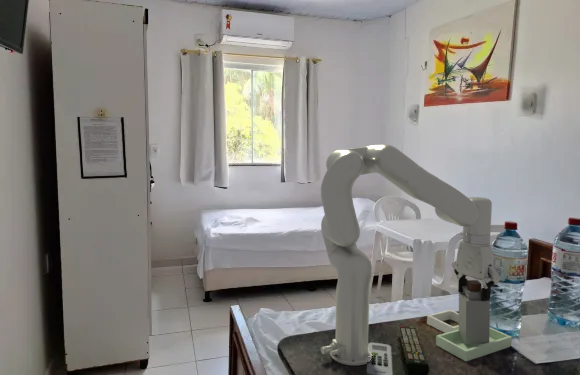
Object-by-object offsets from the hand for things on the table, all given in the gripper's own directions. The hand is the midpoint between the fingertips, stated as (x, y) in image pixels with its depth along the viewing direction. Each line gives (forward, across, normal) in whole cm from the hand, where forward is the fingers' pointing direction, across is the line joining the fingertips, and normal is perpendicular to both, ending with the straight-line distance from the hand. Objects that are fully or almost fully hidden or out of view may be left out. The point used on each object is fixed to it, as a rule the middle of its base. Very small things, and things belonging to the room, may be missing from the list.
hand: (473, 295), depth 124 cm
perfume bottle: (+14, 0, +1) cm, 14 cm away
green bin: (+16, 0, +1) cm, 16 cm away
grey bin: (+16, -12, +5) cm, 21 cm away
